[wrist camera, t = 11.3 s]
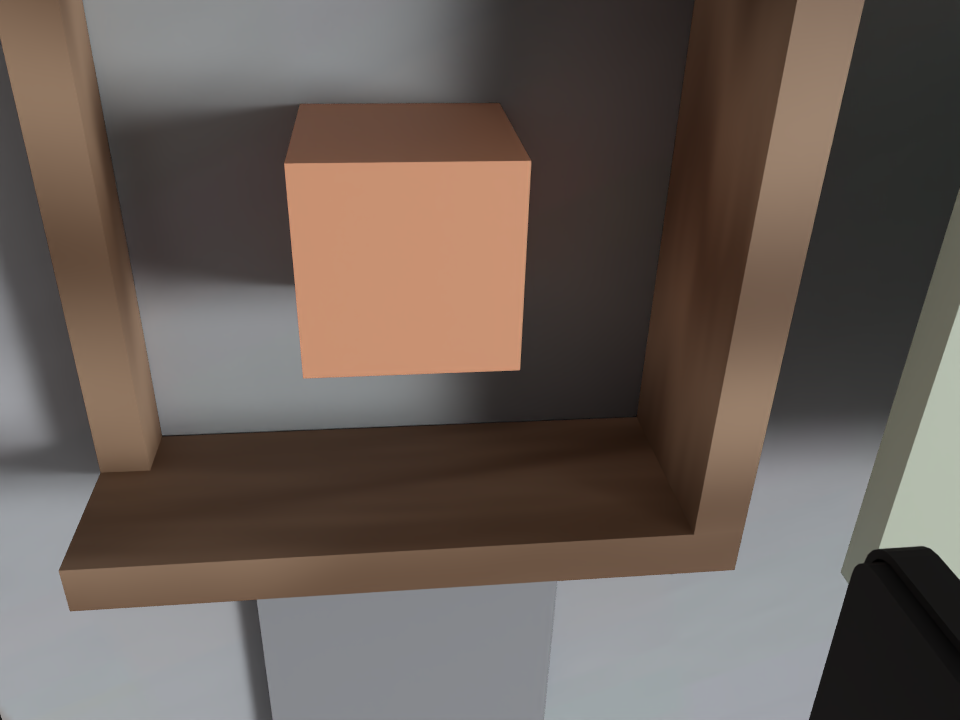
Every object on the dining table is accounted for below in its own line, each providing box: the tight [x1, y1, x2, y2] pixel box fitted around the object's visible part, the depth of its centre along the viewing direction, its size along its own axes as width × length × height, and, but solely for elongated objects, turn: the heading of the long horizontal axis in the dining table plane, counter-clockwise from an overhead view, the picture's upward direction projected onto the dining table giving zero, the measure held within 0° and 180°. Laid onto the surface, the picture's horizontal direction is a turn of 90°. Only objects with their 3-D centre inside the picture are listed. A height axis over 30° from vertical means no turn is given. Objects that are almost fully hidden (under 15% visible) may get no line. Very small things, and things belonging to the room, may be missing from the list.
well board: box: [0, 0, 865, 611], centre depth 19 cm, size 15×15×5 cm
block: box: [284, 103, 531, 378], centre depth 19 cm, size 4×4×4 cm
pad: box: [257, 581, 557, 720], centre depth 28 cm, size 9×9×1 cm
